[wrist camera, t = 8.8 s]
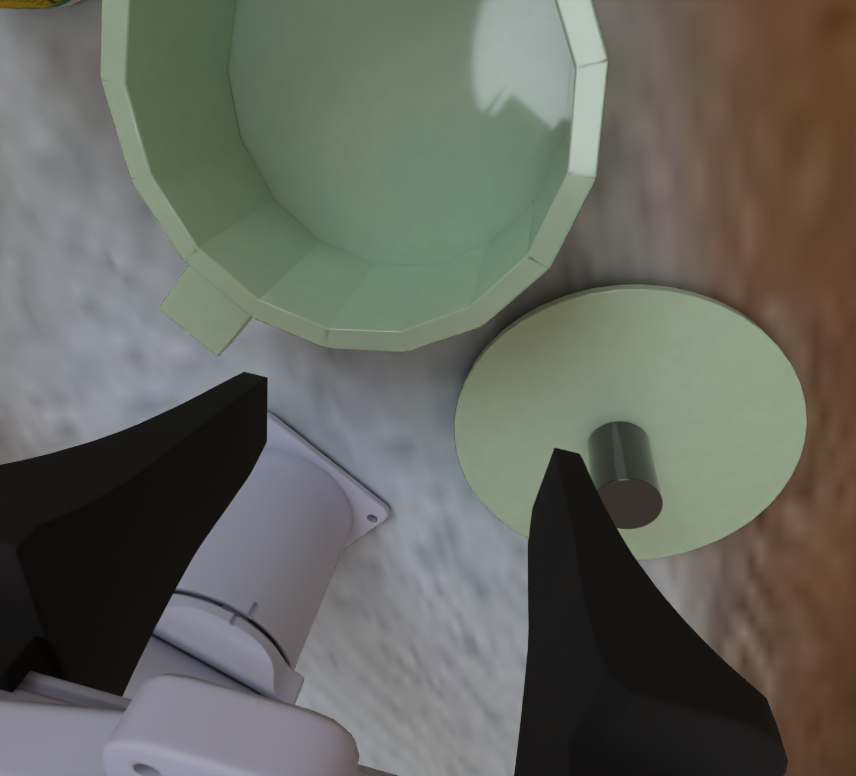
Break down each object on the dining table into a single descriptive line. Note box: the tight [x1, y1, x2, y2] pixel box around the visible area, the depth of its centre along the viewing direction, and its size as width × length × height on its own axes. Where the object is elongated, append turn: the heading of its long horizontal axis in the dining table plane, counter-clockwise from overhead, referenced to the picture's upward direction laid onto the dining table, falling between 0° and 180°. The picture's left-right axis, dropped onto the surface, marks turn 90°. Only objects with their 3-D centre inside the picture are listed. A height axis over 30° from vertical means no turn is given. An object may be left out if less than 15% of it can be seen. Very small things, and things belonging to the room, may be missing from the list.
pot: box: [100, 0, 609, 356], centre depth 17 cm, size 12×18×6 cm
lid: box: [454, 284, 807, 560], centre depth 23 cm, size 13×13×5 cm
